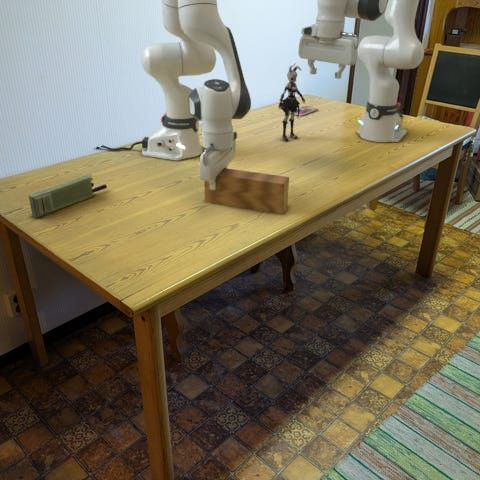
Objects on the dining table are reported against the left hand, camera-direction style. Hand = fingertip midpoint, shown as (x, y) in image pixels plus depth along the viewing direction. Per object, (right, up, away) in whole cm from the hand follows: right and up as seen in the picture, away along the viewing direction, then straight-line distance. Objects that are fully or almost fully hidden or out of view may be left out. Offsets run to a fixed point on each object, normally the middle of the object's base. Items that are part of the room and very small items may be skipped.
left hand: (217, 183), depth 152 cm
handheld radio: (-43, -6, -1) cm, 44 cm away
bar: (+8, -6, 0) cm, 10 cm away
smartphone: (+37, +44, +90) cm, 107 cm away
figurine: (+26, +24, +55) cm, 66 cm away
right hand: (+34, +36, +13) cm, 52 cm away
